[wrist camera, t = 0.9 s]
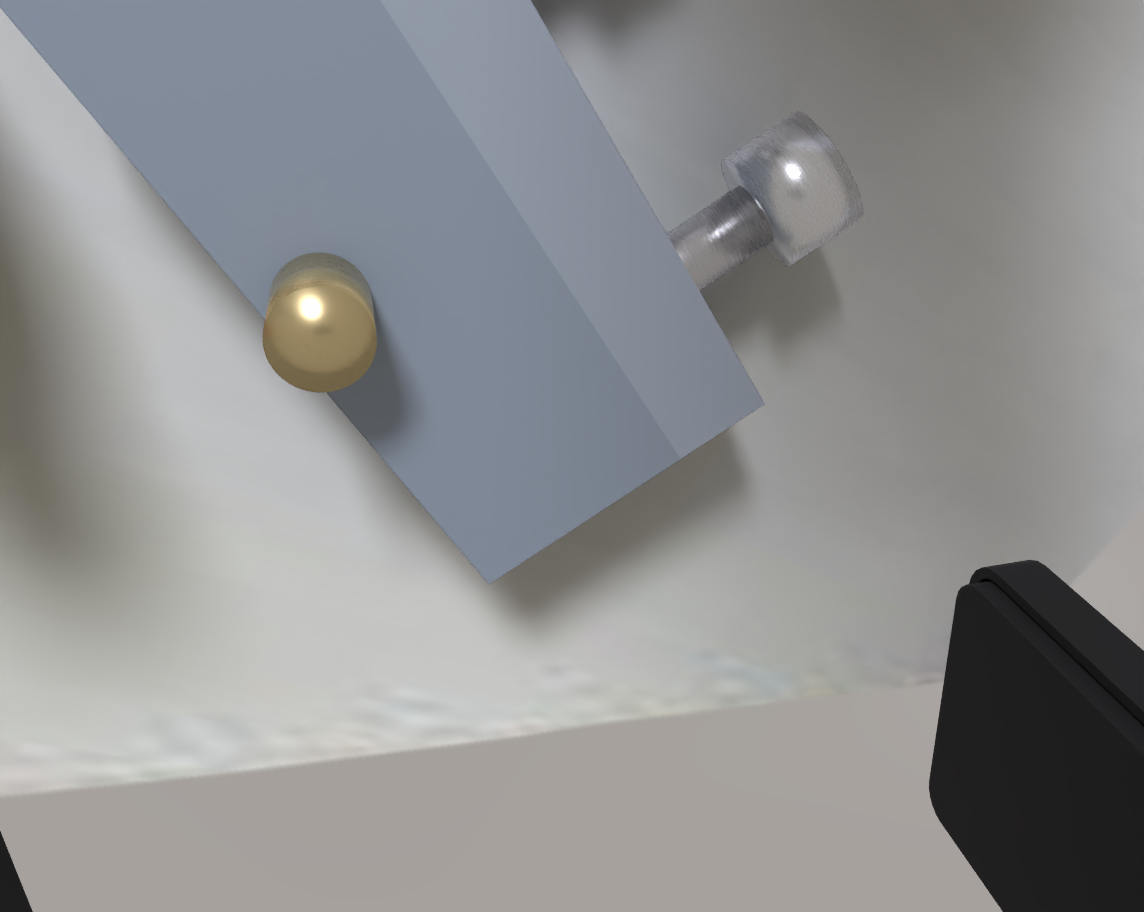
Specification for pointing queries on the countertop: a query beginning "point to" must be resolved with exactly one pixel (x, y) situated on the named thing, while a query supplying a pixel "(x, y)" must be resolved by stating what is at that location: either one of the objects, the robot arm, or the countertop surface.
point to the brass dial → (320, 323)
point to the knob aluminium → (772, 202)
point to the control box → (427, 235)
